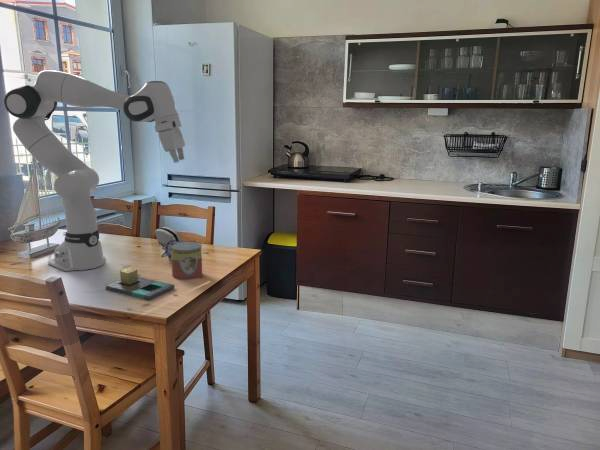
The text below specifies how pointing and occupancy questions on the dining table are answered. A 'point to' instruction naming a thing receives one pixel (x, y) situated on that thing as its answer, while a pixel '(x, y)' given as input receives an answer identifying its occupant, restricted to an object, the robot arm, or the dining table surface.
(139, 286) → the peg hole board
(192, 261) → the canned food
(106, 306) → the dining table surface
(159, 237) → the grey curved piece
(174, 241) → the passion flower
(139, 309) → the dining table surface
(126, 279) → the brass peg
